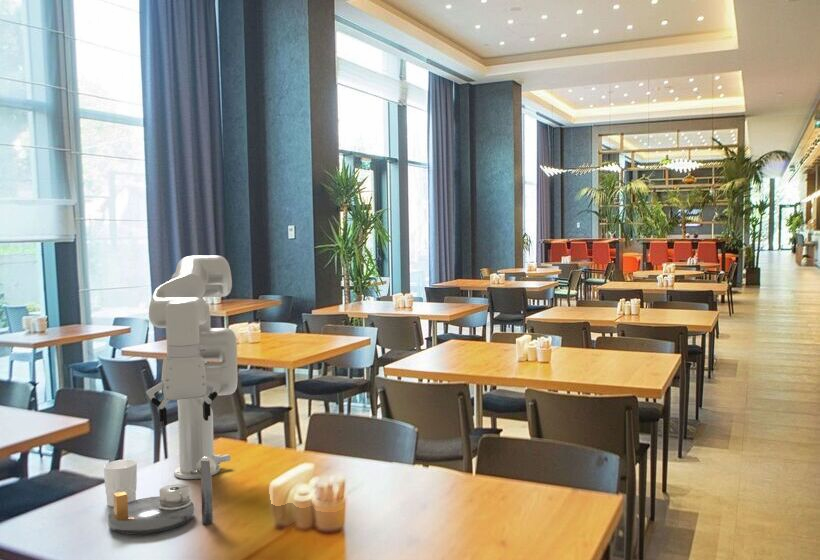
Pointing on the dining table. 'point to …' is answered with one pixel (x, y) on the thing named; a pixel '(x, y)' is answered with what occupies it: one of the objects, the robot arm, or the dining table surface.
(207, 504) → the dial post
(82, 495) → the dining table surface
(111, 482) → the white cup
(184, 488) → the cover
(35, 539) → the dining table surface
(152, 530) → the turntable
